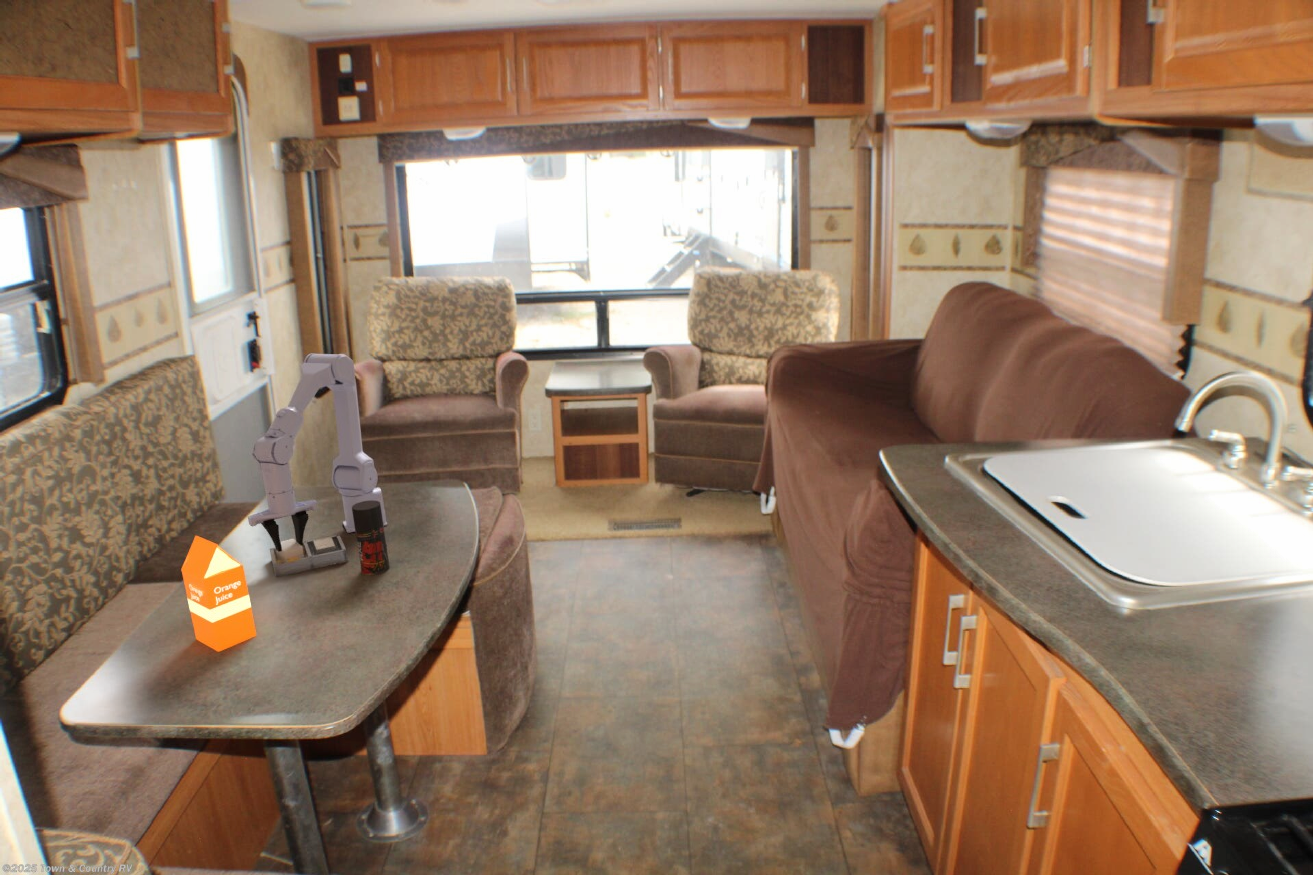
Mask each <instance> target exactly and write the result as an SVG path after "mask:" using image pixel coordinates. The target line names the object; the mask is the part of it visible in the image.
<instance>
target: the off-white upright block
mask: <svg viewBox="0 0 1313 875" xmlns="http://www.w3.org/2000/svg"><path fill="white" fill-rule="evenodd" d="M280 542H281V547H282V551H280V552H278V551H277V556H278V558H279V559H280V560H281V561H282V562H286V561H287V559H291V558H295V557H298V558H299V559H301V558H304V554H303V548H302V546H301V545H300V544H299V543H298V542H297V541H296V538H293V537H292V538H289V539H286V540H282V541H280Z"/></svg>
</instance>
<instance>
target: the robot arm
mask: <svg viewBox="0 0 1313 875" xmlns="http://www.w3.org/2000/svg"><path fill="white" fill-rule="evenodd" d="M354 362H355V361H354V359H352V358H350V357H349V356H348V355H347V354H345V353H339V354H337V353H335V354H333V353H332V354H331V353H330V354H329V353H314V352H312V353H309V354H307V355H306V357H305V358H304V360H303V363H302V364H301V366H300V373H301V377H300V379H299V382H298V383H297V386H296V387H295V390H294V392H293V395H292V396H291V398H290V401H289V403H288V406H287V407H283V408H280V409H279V410H277V413H275V417H274V419H273V421H272V422H271V424H270V426H269V427H268V430H267V431H266V433H265V434H264V436H263V437H260V438H259V439H258V440H257V441H255V443H254V445H253V447H252V448H253V449H252V450H253V451H252V453H251V456H252V459H253V460H254V461H255V462H256V463H257V465H258V469H259V470H260V471H261V474H262V479H263V485H264V490H265V498H266V500H267V501H266V502H267V506H268V508H267V509H265V510H262V511H260V512H257V513H254V514H251V515H248V516H247V518H248V521H247V522H248V525H249V526H250V527H252V528H253V527H256V526H257V525H260V524H261V526H262V527H263V528H264V529H265V530H266V532H267V534H268V535H269V537H270V539H271V540H272V542H273V545H274V548H276V550H277V551H278V552H280V551H282V547H281V542H282V541H281V538H280V526H279V524H277V522H276V521H277V520H279V519H282V518H286V517H290V516H291V520H292V524H293V528H294V535H295V540H296V541H297V542H298V543H299V544H300V545H303V542H304V541H303V540H304V536H305V535H304V534H305V530H306V526H307V523H308V520H309V514H308V513H307V512H310V511H317V510H318V509H319V507H318V503H317V500H315V499H309V500H305V501H304V500H303V501H298V502H297V501H296V497H295V496H296V495H295V491H294V485H293V480H292V479H293V478H292V472H291V467H290V460H291V459H292V458H293V456H294V445H295V439H296V437H297V436H298V434H299V431H300V430H301V428H302V427H303V424H304V423H305V419H304V416H303V415H304V414H303V413H304V412H305V411H306V409H307V408H308V407H309V404H310V403H311V402H312V400H313V398H314V397H315V395H316V394H317V393H318V391H319V390H320V389H321V388H324V387H326V388H328V389H330V390H331V391H332V394H333V403H334V404H333V405H334V414H335V423H336V432H337V433H336V434H337V441H338V451H339V455H338V456H336V458H335V459H333V461H332V472H331V483H332V485H333V487H334V488H335V489H337V490H338V494H341V498H342V506H343V511H344V512H343V513H344V518H345V520H343V521H342V524H343V526H344V528H345V530H346V532H347V533H354V532H355V526H354V519H353V513H352V506H353V505H354V504H356V503H359V502H363V501H369V500H374V501H379V502H380V505H381V512H382V519H383V525H384V526H387V525H388V522H387V517H386V510H385V504H384V498H383V493H382V490H381V487H378V486H377V484H378V478H379V477H378V473H377V470H376V468H375V463H374V459H373V458H372V457H370V456H369V455H368V454H366V453H365V452H364V450H363V441H362V440H363V439H362V432H361V429H362V428H361V421H360V412H359V411H360V410H359V400H358V390H357V382H356V381H357V380H356V374H355V364H354ZM376 486H377V487H376ZM355 533H356V532H355Z"/></svg>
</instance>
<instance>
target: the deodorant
mask: <svg viewBox="0 0 1313 875" xmlns="http://www.w3.org/2000/svg"><path fill="white" fill-rule="evenodd" d="M352 513H353V519H354V526H355V536H356V545H357V550H358V556H359V562H360V569H361V573H362V574H363V575H365V574H367V575H366V576H373V575H374V576H375V575H380V574H383V573H385V572H387V571H388V570H389V569H390V560H389V555H388V554H389V553H388V547H387V546H388V545H387V540H386V534H385V525H383V519H382V512H381V505H380V502H379V501H374V500H369V501H363V502H359V503H356V504H354V505H353V506H352Z"/></svg>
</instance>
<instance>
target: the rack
mask: <svg viewBox="0 0 1313 875" xmlns="http://www.w3.org/2000/svg"><path fill="white" fill-rule="evenodd" d="M301 546H302V548H303V554H304V558H301V559H299V558H298V557H295V558H291V559H287V561H286V562H282V561H281V560H280V559H279V558H278V556H277V550H276V548H275V547H273V548H269V553H270V558H271V563H272V568H273V571H274V576H275V578H279V577H283V576H287V574H288V575H291V574H292V575H293V574H297V573H302V572H305V570H307V571H310V569H311V570H314V568H316V569H319V568H318V567H320V568H324V567H323V566H325V567H327V566H326V565H330V566H333V565H332V564H334V563H339V564H342V563H341V562H343V563H345V562H344V561H348V562H349V559H348V558H349V557H348V552H347V549H346V546H345V544H344V542H343V540H342V538H341V536H340V534H334V535H331V536H326V537H321V538H316V539H312V540H311V539H310V540H306V541H303V545H301ZM334 565H335V564H334Z"/></svg>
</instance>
